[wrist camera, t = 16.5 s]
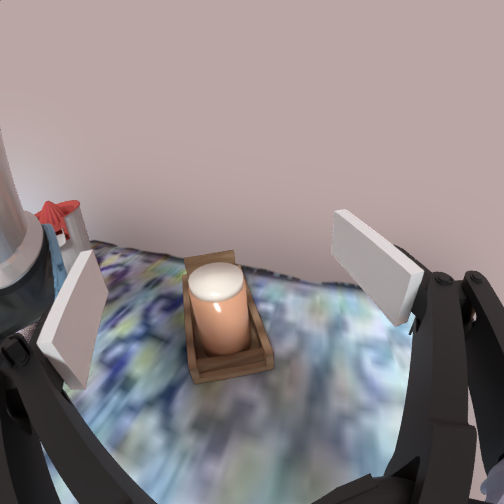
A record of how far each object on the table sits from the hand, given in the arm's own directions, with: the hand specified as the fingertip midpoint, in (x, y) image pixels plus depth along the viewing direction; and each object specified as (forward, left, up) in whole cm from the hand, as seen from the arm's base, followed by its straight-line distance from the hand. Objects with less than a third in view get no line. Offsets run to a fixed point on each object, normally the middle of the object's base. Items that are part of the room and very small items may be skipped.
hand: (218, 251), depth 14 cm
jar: (-8, +13, -24) cm, 29 cm away
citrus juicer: (-52, +21, -25) cm, 62 cm away
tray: (-10, +18, -25) cm, 33 cm away
